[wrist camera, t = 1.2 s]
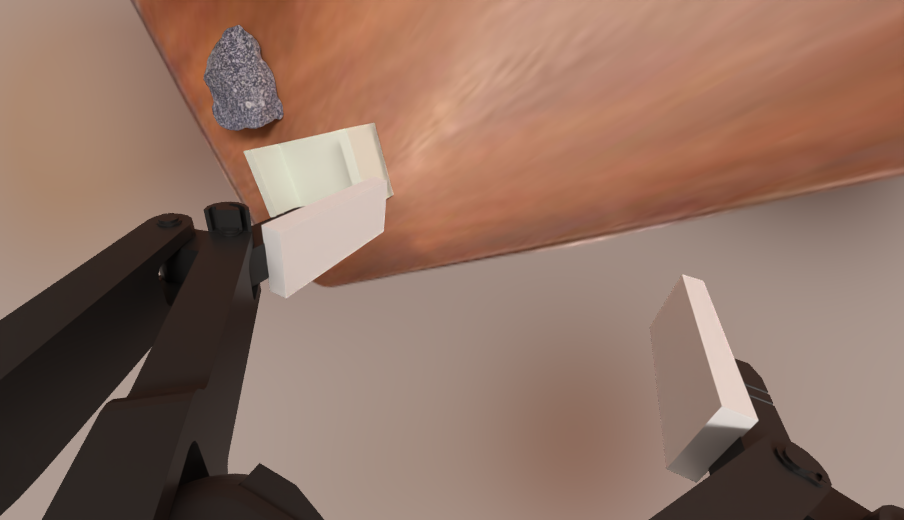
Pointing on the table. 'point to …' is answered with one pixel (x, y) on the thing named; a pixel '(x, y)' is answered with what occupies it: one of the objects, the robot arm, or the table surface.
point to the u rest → (316, 167)
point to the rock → (241, 82)
